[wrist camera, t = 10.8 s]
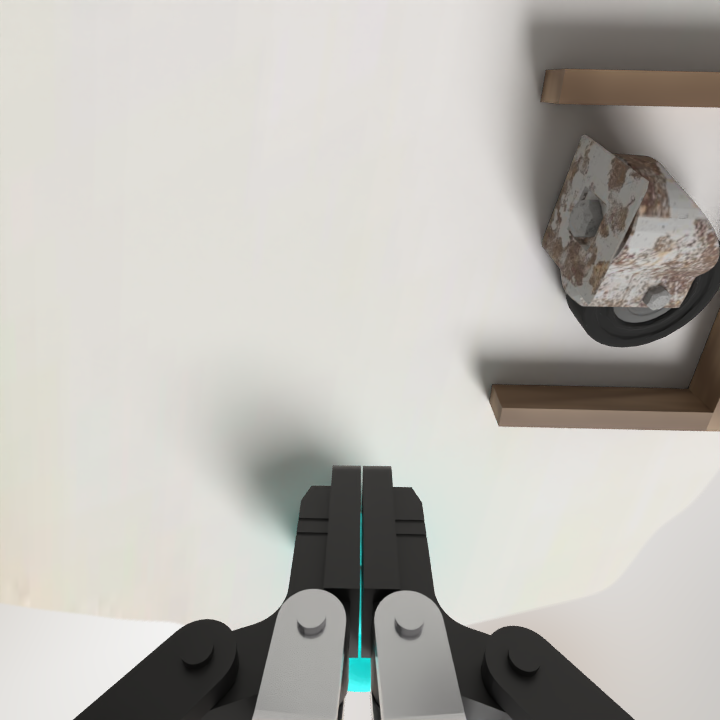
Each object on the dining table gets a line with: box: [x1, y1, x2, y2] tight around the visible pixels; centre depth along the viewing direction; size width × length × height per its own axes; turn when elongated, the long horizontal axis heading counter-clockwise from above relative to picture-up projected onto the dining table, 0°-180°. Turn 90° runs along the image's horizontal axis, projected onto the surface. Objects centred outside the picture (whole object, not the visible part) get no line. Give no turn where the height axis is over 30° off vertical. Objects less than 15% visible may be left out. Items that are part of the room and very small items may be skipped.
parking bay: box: [489, 69, 720, 431], centre depth 31 cm, size 21×16×3 cm
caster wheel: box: [542, 135, 720, 347], centre depth 29 cm, size 7×11×10 cm
